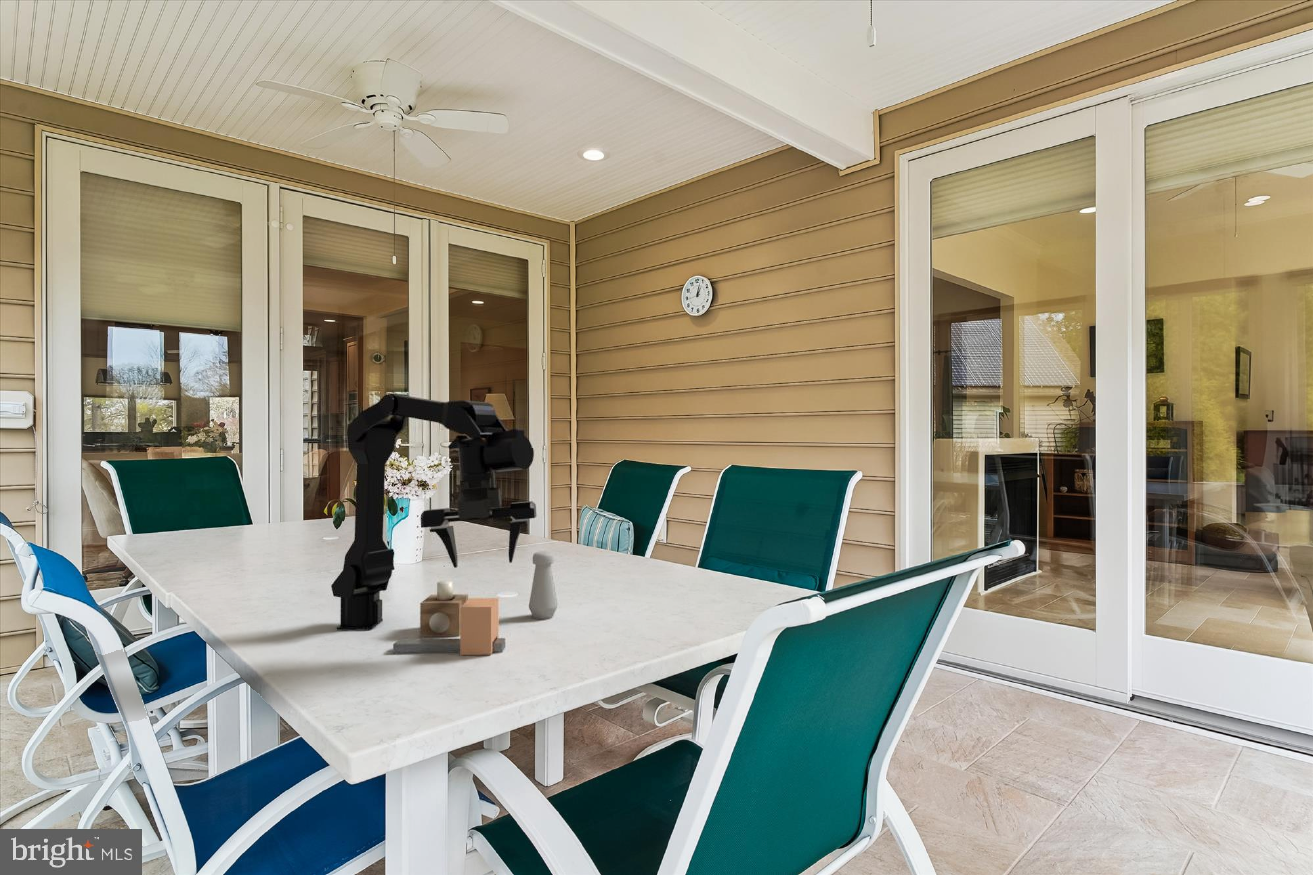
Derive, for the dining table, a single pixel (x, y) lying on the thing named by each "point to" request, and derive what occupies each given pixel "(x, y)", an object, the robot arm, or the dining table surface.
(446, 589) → the plunger
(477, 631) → the block
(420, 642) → the rail
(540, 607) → the salt shaker
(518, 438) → the robot arm
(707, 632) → the dining table surface
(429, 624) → the cabinet
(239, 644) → the dining table surface
